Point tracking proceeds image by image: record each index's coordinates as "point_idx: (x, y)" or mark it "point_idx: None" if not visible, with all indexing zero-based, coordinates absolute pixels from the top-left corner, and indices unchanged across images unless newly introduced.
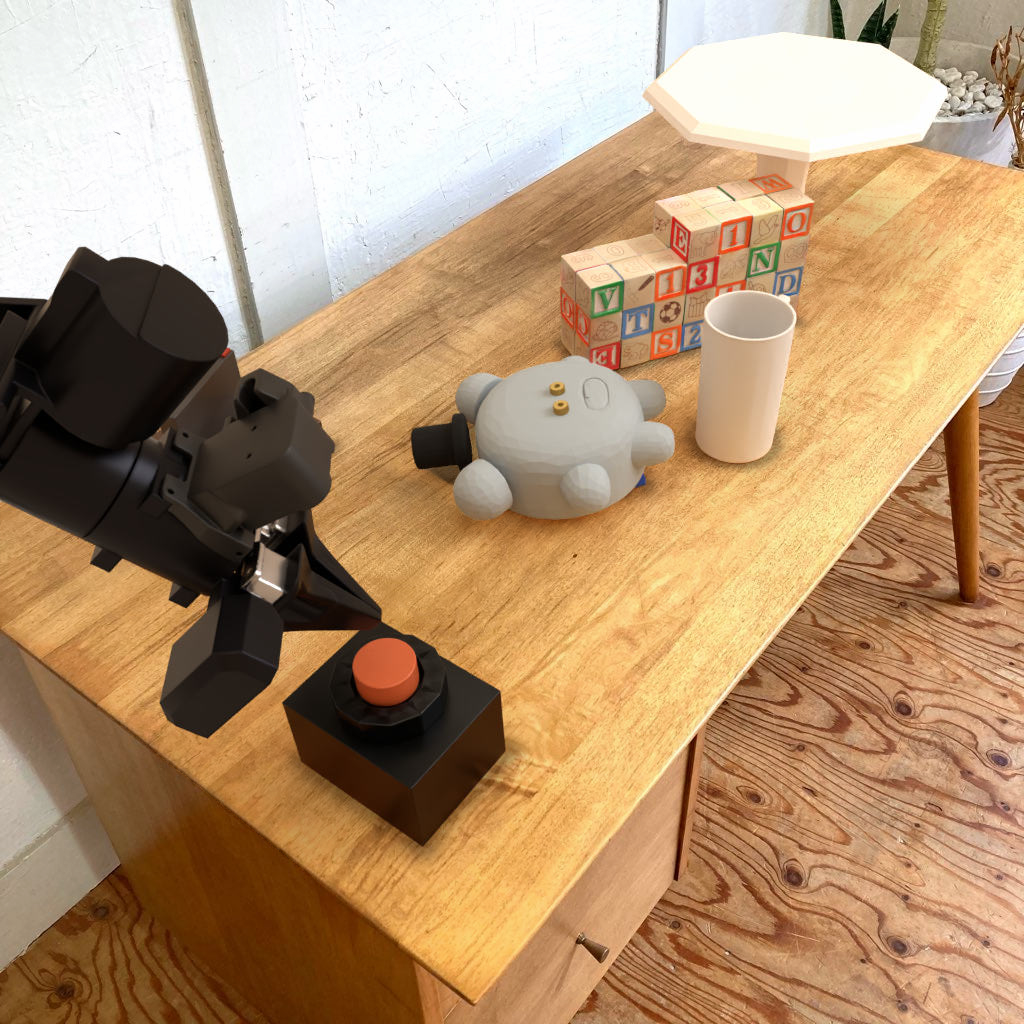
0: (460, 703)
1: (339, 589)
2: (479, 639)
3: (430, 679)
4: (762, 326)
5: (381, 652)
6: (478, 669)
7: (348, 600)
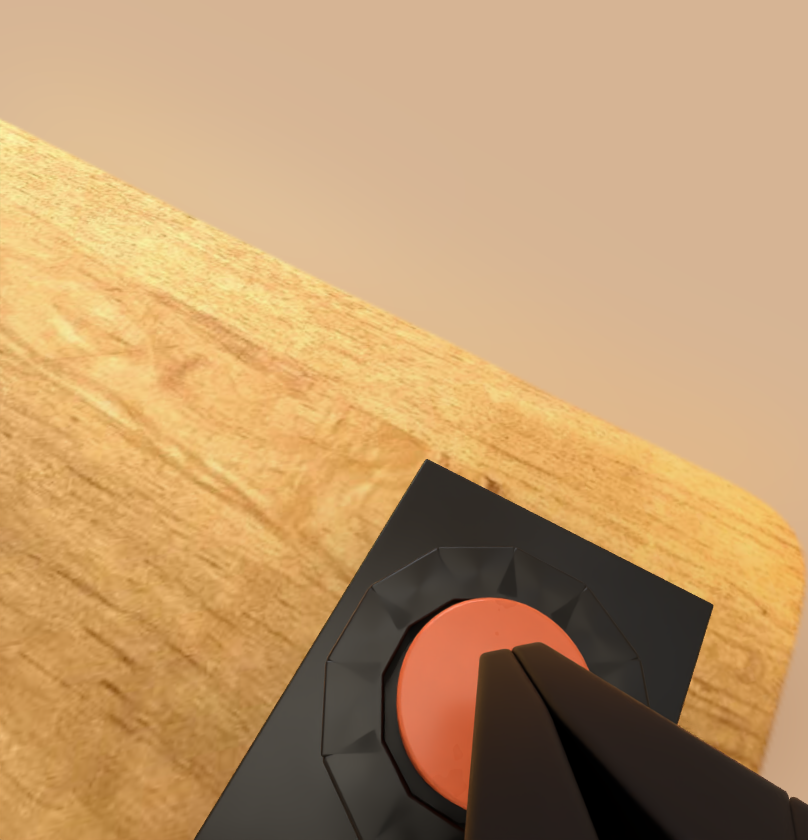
0: (472, 534)
1: (690, 822)
2: (159, 618)
3: (476, 579)
4: None
5: (462, 716)
6: (237, 608)
7: (673, 757)
